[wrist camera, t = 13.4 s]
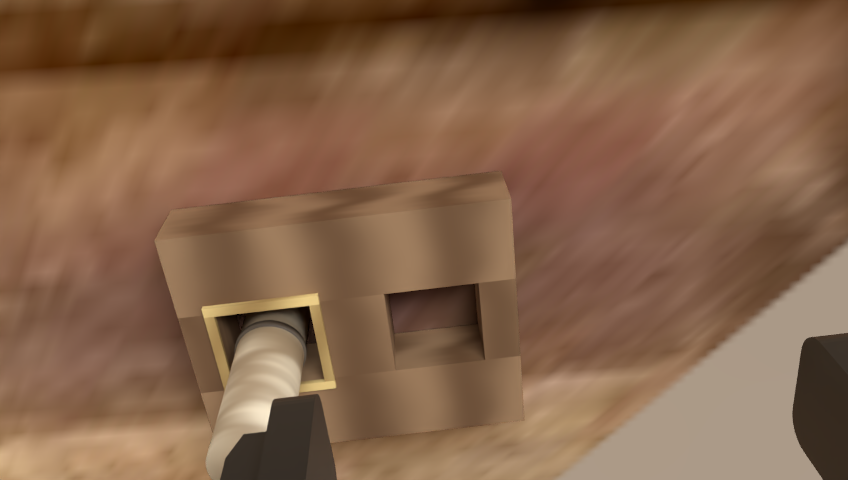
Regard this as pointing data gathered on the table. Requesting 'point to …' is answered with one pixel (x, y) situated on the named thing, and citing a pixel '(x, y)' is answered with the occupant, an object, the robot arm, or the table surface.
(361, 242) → the walnut board
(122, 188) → the table surface
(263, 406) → the birch peg
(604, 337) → the table surface
